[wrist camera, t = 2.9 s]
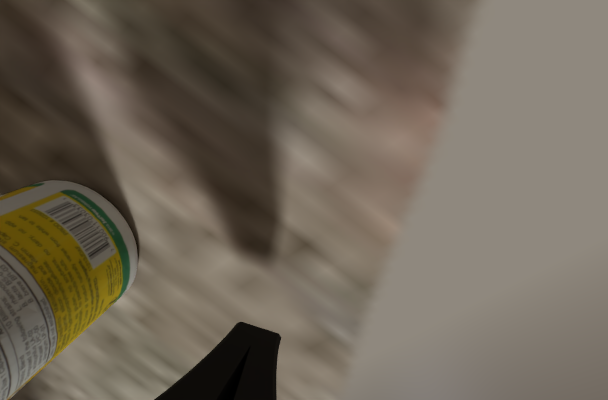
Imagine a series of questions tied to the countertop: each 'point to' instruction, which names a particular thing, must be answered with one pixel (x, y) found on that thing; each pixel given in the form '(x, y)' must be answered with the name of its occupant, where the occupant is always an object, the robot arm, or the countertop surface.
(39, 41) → the countertop surface
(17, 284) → the supplement bottle
